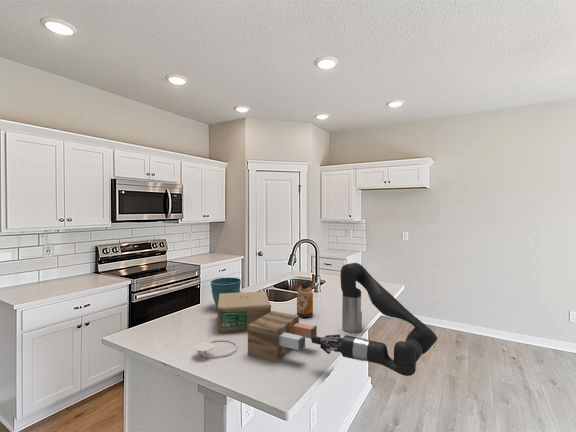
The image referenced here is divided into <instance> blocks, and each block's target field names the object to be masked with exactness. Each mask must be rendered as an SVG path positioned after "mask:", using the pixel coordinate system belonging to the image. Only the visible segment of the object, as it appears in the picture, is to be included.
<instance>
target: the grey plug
mask: <svg viewBox="0 0 576 432" xmlns="http://www.w3.org/2000/svg"><path fill="white" fill-rule="evenodd" d="M279 346H283V347H288V348H292V349H293V350H297V351H298V352H301V351H302V350H304V348H306V337H305V336H299V335H295V334H290V333H285V332H282V333H281V334H279ZM292 349H291V350H292Z"/></svg>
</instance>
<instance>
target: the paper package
mask: <svg viewBox="0 0 576 432" xmlns="http://www.w3.org/2000/svg"><path fill="white" fill-rule="evenodd" d="M216 311H217V334H218V335H219V334H220V335H221V334H230V333H241V332H243V333H244V332H248V325H249V324H250V323H252V322H254V321H256V320H257V319H259V318H261V317H262V316H264V315H266V314H268V313H269V312H271V311H272V305H271V302H270V300H269V298H268V292H267V291H266V290H262V291H261V290H260V291H244V292H241V291H240V293H220V294H219V300H218V308H217V309H216Z"/></svg>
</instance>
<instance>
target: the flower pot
mask: <svg viewBox="0 0 576 432" xmlns="http://www.w3.org/2000/svg"><path fill="white" fill-rule="evenodd" d="M241 282H242V279H241V278H238V277H233V276H232V277H231V276H230V277H219V278H214V279H211V281H210V288H211V295H212V298H213V299H212V300H213V301H214V305H215V308H216V310H217V308H218V300H219V294H220V293H240V292H241Z"/></svg>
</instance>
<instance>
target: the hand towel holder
mask: <svg viewBox="0 0 576 432" xmlns="http://www.w3.org/2000/svg"><path fill="white" fill-rule="evenodd" d="M217 342H226V343H231V344H233V345H234V346H235V349H233V350H232V351H230V352H228V353H224V354H217V355H213V354H208V353H207V352H209V351H211V350H213V349H214V348H215V346H216V344H214V343H217ZM194 349H195V350H196V352H198V354H199V355H200V356H201V357H202V356H203V357H202V358H208V357H211V358H210V359H218V358H219V359H221V358H225V357H228V356H231V355H233V354H234V353H236V352H237V351H238V349H239V345H238V344H237V342H236V341H234V340H231V339H225V338H218V339H217V338H216V339H212V340H209V341H205V342H200V343H198V344H196V345H195V346H194ZM220 357H221V358H220Z"/></svg>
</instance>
